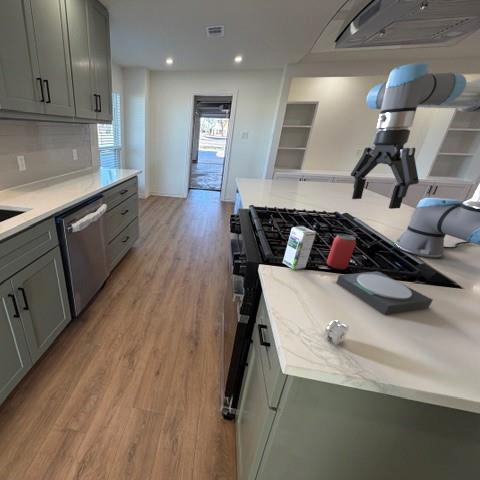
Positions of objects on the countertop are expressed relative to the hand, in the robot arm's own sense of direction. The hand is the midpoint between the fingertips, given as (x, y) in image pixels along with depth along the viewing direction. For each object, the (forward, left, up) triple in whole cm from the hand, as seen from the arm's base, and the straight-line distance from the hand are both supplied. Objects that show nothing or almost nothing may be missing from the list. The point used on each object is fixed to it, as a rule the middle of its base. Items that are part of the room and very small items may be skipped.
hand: (373, 203), depth 79 cm
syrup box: (+15, -9, -26) cm, 31 cm away
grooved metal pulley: (+31, +25, -26) cm, 48 cm away
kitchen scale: (+1, +12, -26) cm, 29 cm away
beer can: (-1, -6, -26) cm, 27 cm away
